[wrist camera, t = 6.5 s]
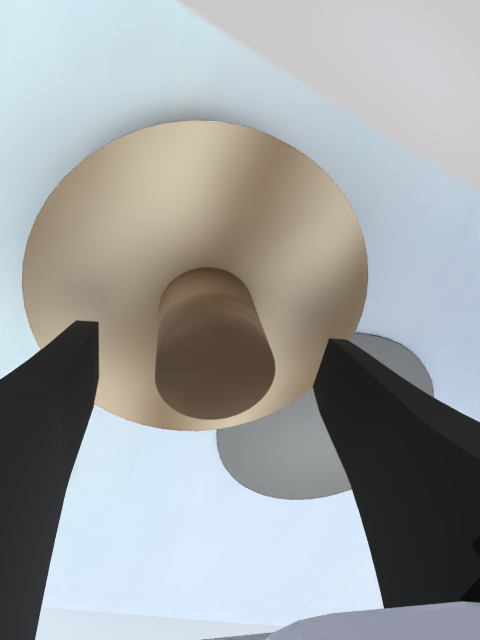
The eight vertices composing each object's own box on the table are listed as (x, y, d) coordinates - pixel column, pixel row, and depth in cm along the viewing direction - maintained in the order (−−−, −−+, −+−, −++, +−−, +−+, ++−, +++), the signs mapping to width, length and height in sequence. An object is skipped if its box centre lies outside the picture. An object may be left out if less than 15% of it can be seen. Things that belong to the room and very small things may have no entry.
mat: (468, 341, 24) (472, 345, 24) (384, 492, 32) (386, 497, 31) (237, 324, 21) (238, 328, 21) (203, 497, 28) (203, 502, 28)
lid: (413, 170, 14) (511, 202, 10) (303, 426, 20) (336, 510, 16) (22, 68, 11) (-68, 55, 7) (33, 408, 17) (-11, 509, 13)
